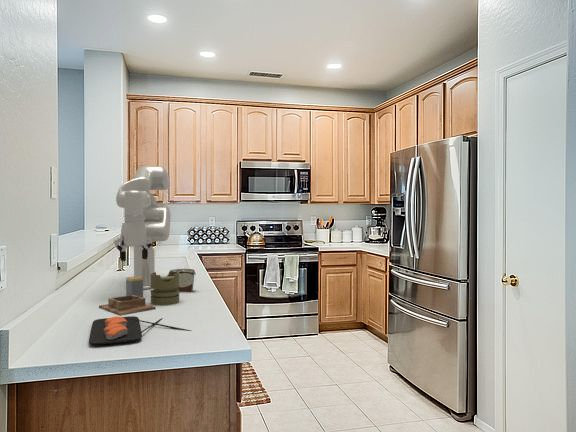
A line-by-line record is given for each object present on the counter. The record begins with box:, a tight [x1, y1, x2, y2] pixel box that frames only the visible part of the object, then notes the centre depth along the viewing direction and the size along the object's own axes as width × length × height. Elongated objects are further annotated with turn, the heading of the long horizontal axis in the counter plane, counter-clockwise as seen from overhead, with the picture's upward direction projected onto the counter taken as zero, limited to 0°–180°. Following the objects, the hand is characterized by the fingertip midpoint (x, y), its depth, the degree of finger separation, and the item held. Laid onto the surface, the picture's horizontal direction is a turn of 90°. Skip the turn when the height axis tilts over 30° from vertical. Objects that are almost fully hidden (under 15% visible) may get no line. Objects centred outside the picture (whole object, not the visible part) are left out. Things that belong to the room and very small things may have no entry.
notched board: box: [98, 295, 156, 316], centre depth 175 cm, size 18×14×4 cm
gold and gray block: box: [125, 276, 144, 298], centre depth 193 cm, size 5×5×9 cm
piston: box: [150, 270, 180, 306], centre depth 186 cm, size 11×12×11 cm
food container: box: [169, 268, 196, 293], centre depth 210 cm, size 12×6×10 cm, turn 84°
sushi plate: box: [88, 315, 193, 345], centre depth 145 cm, size 29×30×4 cm
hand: (134, 260), depth 192 cm, fingers open, 9 cm apart
